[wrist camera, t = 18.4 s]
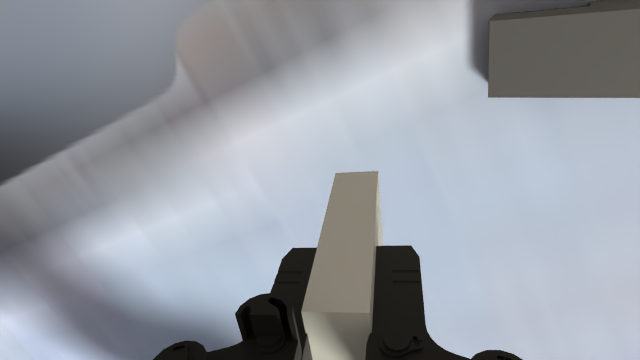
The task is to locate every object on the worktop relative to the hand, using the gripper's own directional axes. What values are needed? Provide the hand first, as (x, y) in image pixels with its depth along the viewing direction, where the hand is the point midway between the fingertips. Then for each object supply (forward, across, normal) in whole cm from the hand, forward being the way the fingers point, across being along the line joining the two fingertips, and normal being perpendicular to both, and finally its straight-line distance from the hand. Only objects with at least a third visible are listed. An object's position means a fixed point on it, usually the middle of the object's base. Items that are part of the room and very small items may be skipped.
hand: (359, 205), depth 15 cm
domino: (+17, +8, +1) cm, 19 cm away
